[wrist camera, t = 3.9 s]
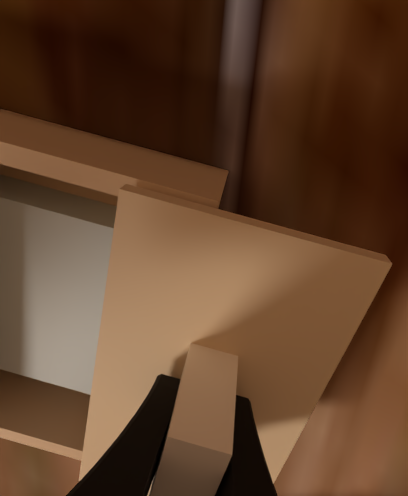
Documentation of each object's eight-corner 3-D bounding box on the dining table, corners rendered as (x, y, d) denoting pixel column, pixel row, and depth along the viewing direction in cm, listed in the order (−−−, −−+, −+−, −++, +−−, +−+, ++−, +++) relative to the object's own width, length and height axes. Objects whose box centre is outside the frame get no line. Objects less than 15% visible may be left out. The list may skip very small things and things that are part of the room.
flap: (84, 468, 14) (35, 578, 11) (125, 183, 9) (55, 238, 6) (248, 515, 14) (246, 640, 11) (385, 254, 9) (457, 349, 6)
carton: (-107, 329, 18) (-187, 383, 15) (-155, 66, 13) (-297, 60, 9) (164, 405, 18) (143, 478, 14) (228, 170, 12) (219, 201, 9)
